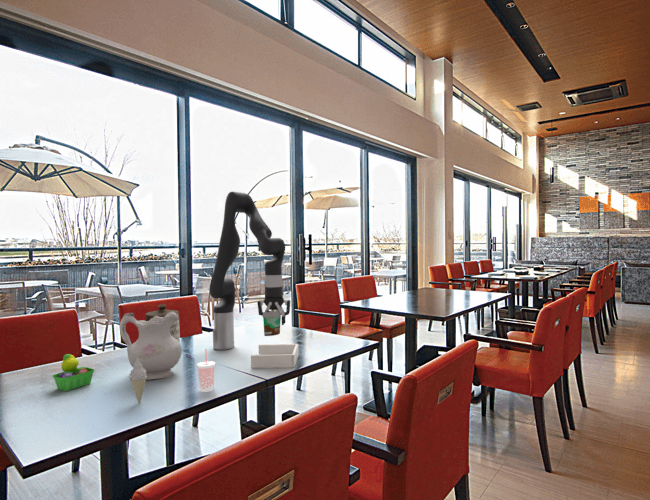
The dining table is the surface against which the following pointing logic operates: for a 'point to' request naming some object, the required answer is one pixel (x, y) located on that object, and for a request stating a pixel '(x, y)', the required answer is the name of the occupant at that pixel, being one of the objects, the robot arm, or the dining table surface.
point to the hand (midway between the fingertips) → (274, 324)
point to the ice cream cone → (138, 379)
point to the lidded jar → (161, 313)
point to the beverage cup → (206, 374)
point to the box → (275, 356)
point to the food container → (271, 322)
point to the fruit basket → (72, 374)
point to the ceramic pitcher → (153, 344)
